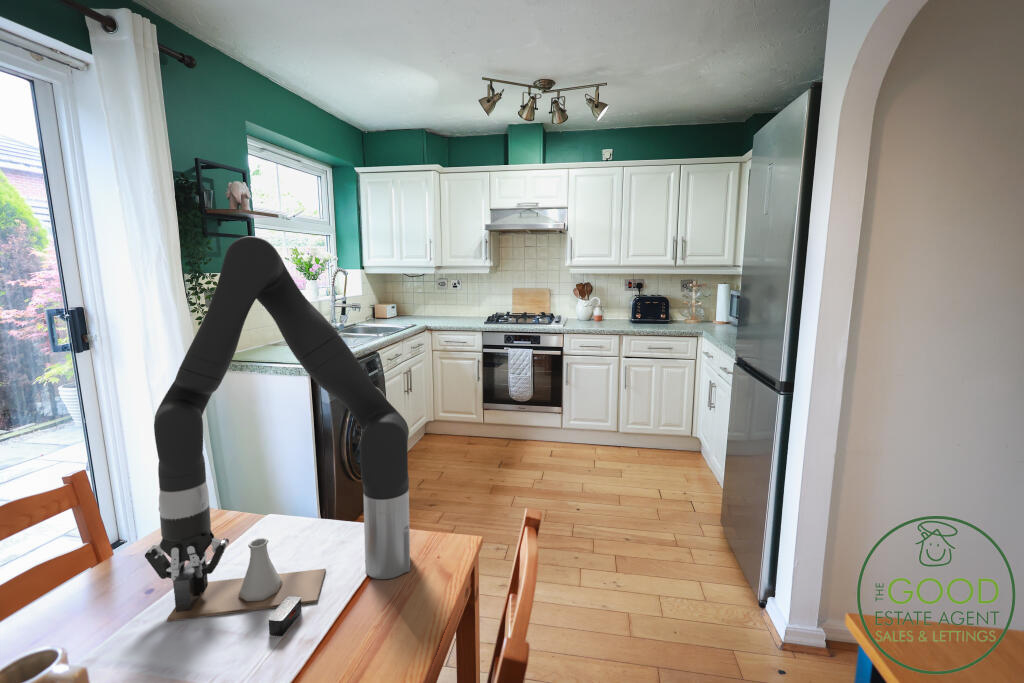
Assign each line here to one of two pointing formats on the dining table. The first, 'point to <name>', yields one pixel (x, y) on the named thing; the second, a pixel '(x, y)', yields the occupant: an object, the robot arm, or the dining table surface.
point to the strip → (225, 594)
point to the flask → (259, 574)
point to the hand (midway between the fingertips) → (191, 594)
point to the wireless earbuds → (284, 616)
